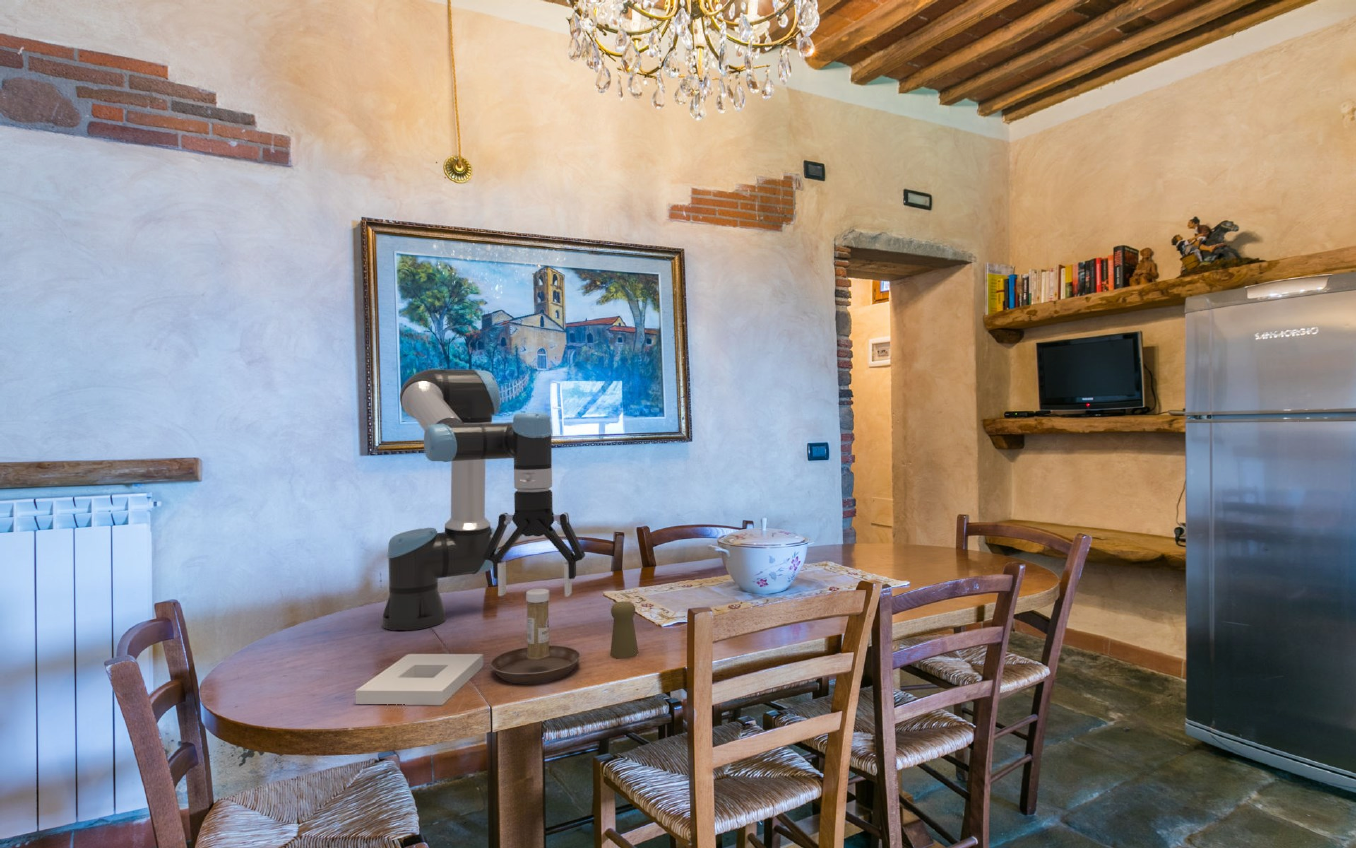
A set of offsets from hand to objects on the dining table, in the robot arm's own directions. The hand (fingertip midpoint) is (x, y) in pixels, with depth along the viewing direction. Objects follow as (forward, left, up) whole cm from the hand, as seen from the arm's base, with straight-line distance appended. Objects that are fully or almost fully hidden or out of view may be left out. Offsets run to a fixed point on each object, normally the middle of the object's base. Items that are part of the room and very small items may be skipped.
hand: (535, 594), depth 141 cm
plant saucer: (+1, 0, -16) cm, 16 cm away
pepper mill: (-10, +16, -15) cm, 24 cm away
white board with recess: (+8, -20, -15) cm, 26 cm away
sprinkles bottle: (0, 0, -13) cm, 13 cm away
